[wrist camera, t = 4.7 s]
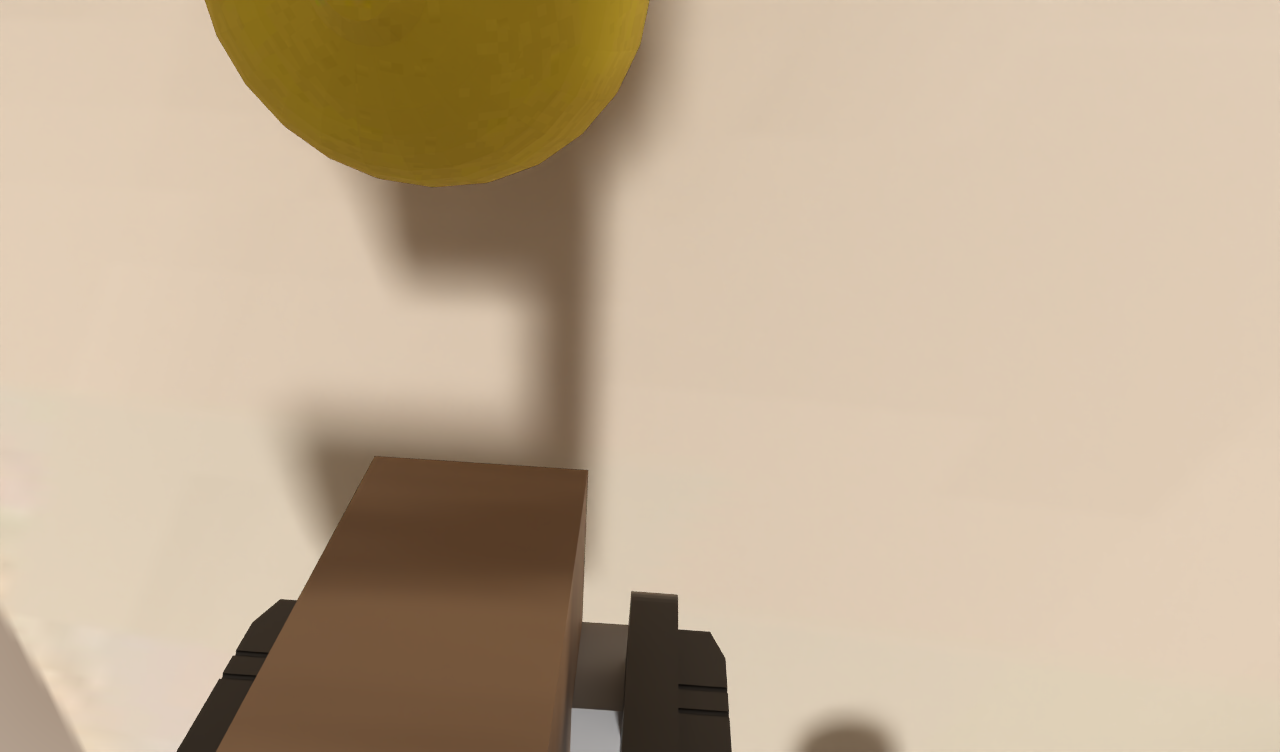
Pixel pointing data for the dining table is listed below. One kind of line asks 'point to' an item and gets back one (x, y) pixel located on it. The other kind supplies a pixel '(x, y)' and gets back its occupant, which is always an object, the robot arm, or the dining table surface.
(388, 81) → the lemon
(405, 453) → the dining table surface
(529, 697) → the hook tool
